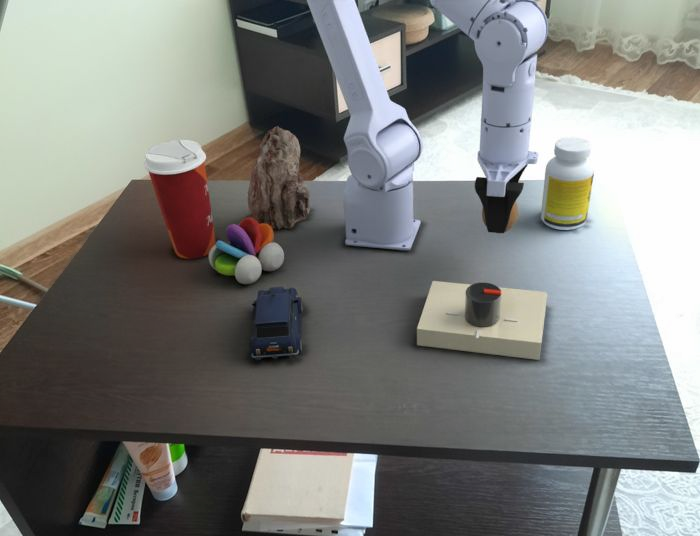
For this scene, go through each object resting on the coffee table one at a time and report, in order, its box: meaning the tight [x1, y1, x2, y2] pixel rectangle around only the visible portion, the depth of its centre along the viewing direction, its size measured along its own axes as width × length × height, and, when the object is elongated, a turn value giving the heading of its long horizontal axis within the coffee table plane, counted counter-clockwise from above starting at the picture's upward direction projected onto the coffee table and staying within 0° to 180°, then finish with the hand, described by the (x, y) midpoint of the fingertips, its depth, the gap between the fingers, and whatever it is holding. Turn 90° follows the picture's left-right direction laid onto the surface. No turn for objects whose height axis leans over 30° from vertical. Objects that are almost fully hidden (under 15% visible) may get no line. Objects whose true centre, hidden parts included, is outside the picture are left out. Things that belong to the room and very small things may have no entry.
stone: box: [247, 125, 311, 230], centre depth 106 cm, size 15×7×10 cm
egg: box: [481, 200, 519, 233], centre depth 92 cm, size 4×4×6 cm
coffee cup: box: [143, 139, 217, 260], centre depth 101 cm, size 8×8×15 cm
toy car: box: [248, 286, 303, 361], centre depth 87 cm, size 6×12×6 cm, turn 2°
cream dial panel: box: [416, 280, 548, 361], centre depth 86 cm, size 14×11×3 cm
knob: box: [465, 282, 501, 327], centre depth 84 cm, size 4×4×4 cm
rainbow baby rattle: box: [208, 216, 285, 285], centre depth 98 cm, size 8×10×7 cm
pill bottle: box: [540, 136, 595, 231], centre depth 102 cm, size 6×6×12 cm
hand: (498, 221), depth 93 cm, fingers closed on egg, 4 cm apart
